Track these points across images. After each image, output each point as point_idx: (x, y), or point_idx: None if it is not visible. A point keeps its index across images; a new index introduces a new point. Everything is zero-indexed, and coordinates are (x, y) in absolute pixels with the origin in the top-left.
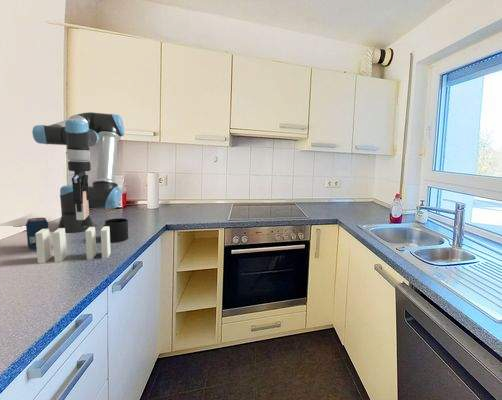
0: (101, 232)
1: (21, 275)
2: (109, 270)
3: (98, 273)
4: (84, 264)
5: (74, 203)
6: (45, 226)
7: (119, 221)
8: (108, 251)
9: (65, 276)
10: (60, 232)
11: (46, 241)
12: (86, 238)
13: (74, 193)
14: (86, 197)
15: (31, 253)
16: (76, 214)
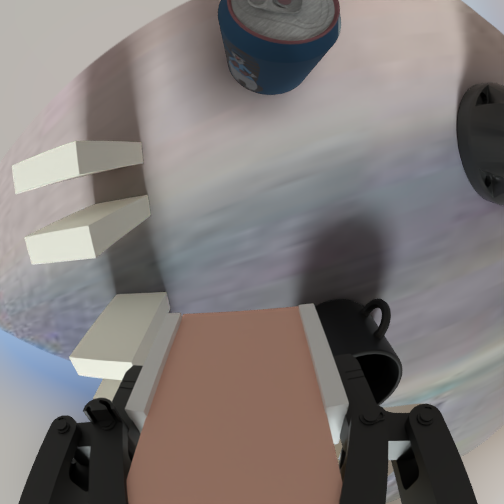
0: (96, 395)
1: None
2: (68, 354)
3: (52, 336)
4: (85, 297)
5: (97, 411)
6: (260, 65)
7: (390, 374)
8: None
9: (28, 276)
10: (44, 261)
11: (74, 177)
12: (83, 340)
13: (32, 494)
14: (339, 465)
15: (191, 69)
16: (155, 340)
